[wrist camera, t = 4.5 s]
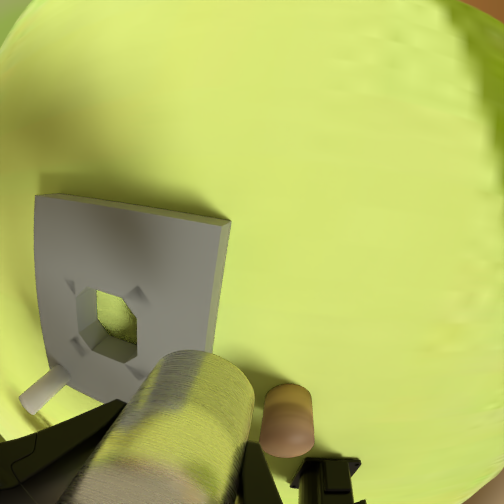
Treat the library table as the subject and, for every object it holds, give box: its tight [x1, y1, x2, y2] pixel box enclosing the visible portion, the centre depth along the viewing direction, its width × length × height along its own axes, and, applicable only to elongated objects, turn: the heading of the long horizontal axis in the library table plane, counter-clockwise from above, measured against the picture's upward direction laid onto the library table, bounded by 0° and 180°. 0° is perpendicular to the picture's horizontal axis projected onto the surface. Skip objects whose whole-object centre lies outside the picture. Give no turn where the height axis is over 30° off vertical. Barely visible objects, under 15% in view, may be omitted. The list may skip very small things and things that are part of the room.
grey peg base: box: [19, 193, 231, 415], centre depth 18 cm, size 18×16×9 cm
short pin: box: [259, 384, 315, 458], centre depth 20 cm, size 4×4×5 cm
